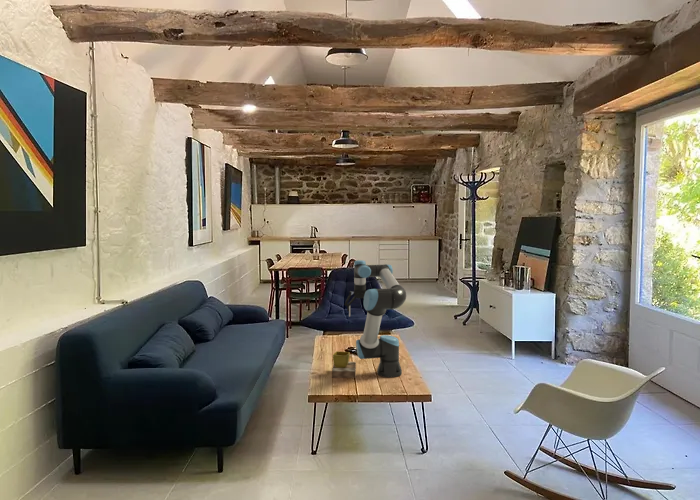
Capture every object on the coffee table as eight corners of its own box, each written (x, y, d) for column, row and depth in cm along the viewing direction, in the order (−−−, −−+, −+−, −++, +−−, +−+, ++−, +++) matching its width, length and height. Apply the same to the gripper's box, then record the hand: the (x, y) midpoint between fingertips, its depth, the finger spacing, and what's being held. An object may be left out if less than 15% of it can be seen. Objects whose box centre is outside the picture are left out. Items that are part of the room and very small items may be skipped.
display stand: (355, 370, 308) (355, 361, 308) (355, 377, 294) (355, 368, 294) (333, 370, 309) (333, 361, 308) (332, 377, 295) (332, 368, 294)
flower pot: (336, 365, 306) (336, 351, 306) (350, 366, 304) (349, 351, 303) (332, 369, 298) (332, 355, 297) (346, 370, 296) (346, 355, 295)
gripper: (378, 283, 321) (378, 314, 323) (341, 283, 322) (341, 314, 323) (379, 284, 314) (379, 317, 315) (340, 284, 314) (340, 317, 316)
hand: (360, 316), depth 319 cm, fingers open, 13 cm apart
